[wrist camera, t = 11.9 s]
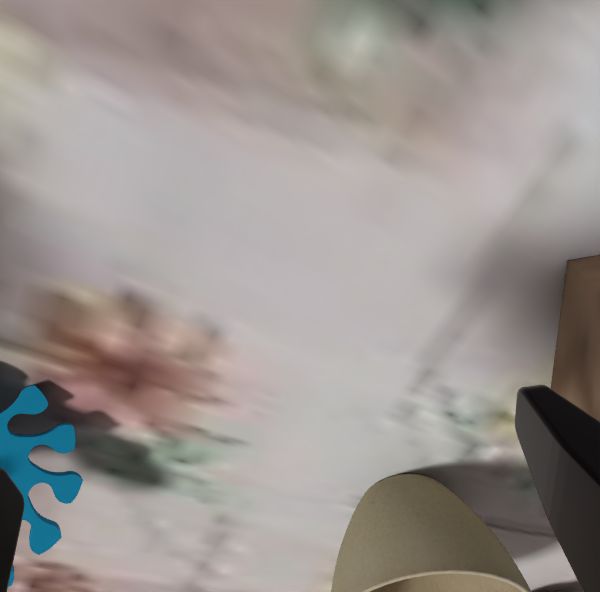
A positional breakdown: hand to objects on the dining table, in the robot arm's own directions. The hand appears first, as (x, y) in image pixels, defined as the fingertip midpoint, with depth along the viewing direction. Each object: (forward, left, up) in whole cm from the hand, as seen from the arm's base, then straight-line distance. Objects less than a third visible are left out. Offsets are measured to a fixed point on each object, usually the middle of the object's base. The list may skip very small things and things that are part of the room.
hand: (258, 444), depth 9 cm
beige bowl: (+21, +4, -13) cm, 25 cm away
